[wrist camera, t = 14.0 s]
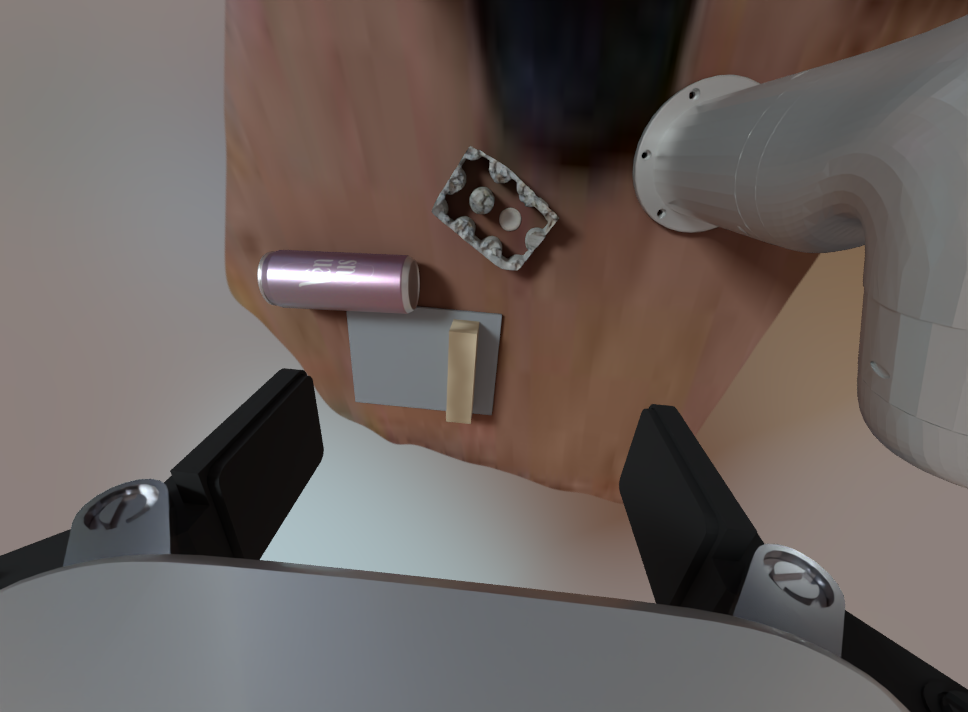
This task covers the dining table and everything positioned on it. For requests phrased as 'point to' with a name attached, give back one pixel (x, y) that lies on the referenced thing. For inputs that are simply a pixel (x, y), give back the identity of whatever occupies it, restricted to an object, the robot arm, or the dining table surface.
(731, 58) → the dining table surface
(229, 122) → the dining table surface
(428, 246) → the dining table surface
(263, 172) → the dining table surface
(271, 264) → the beverage can
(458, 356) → the block
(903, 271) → the robot arm
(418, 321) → the mat
